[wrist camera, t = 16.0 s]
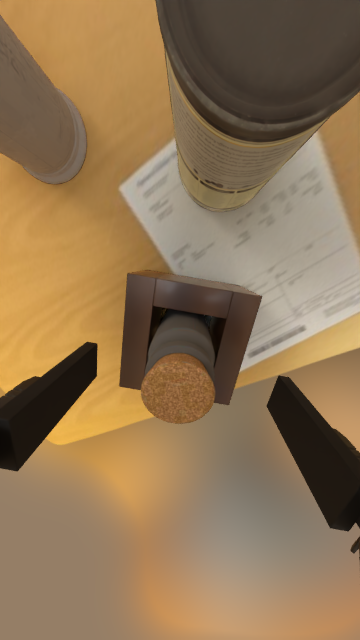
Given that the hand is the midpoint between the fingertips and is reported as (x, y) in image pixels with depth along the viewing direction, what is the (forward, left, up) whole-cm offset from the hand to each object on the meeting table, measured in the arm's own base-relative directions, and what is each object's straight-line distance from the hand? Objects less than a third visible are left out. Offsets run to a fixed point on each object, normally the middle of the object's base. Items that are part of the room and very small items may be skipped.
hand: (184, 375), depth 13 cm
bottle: (0, 0, -13) cm, 13 cm away
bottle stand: (0, 0, -13) cm, 13 cm away
